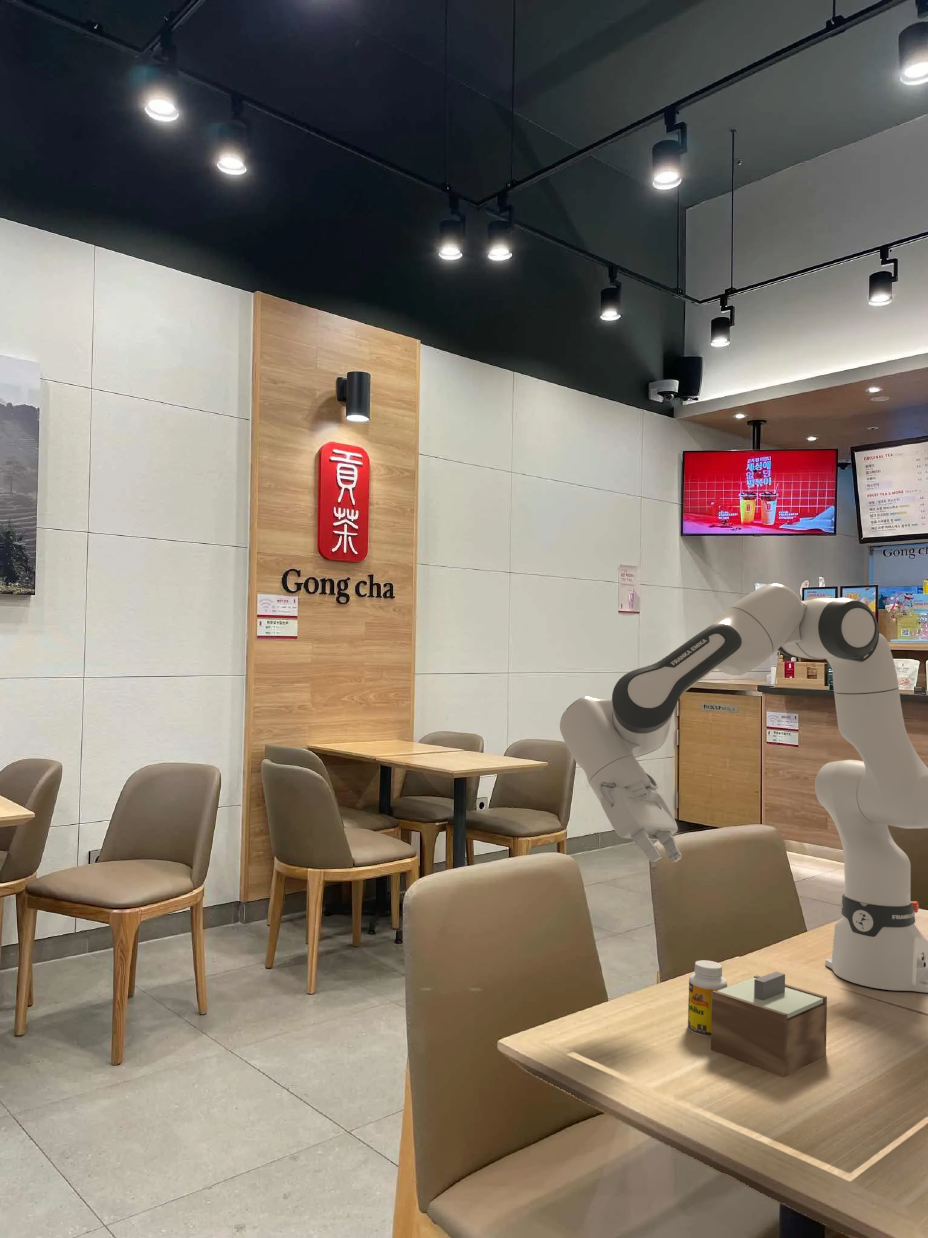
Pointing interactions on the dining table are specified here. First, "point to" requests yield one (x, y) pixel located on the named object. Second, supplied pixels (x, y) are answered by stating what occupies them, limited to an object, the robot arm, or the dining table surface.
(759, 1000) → the lid
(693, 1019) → the supplement bottle
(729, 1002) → the walnut box
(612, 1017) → the dining table surface
